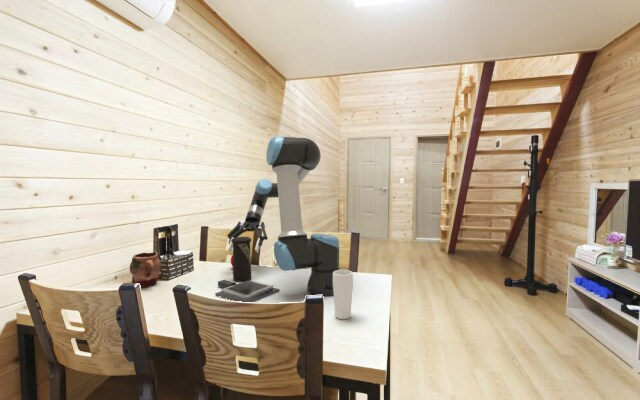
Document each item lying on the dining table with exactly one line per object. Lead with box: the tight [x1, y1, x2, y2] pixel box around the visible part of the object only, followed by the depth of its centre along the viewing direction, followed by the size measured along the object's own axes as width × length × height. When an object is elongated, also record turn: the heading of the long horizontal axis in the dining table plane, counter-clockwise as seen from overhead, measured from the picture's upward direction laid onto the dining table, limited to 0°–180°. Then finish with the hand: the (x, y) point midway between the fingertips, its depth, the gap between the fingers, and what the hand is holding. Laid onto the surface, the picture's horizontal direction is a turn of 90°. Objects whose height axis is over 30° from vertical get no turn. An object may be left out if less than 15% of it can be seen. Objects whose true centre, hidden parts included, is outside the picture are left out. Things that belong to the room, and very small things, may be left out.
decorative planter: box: [129, 252, 162, 289], centre depth 143 cm, size 20×12×14 cm, turn 50°
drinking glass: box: [333, 269, 354, 320], centre depth 107 cm, size 7×7×15 cm
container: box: [231, 236, 252, 283], centre depth 150 cm, size 9×9×20 cm
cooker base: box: [214, 279, 280, 303], centre depth 133 cm, size 26×18×2 cm
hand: (242, 250), depth 153 cm, fingers open, 13 cm apart
